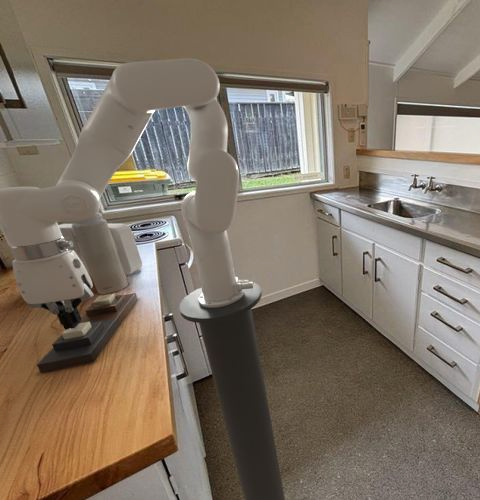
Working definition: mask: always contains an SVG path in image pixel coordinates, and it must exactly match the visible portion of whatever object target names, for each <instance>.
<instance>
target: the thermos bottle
mask: <svg viewBox="0 0 480 500" xmlns="http://www.w3.org/2000/svg"><path fill="white" fill-rule="evenodd" d="M71 224H72V228H73V231H74V233H75V236H76V238H77V241H78V244H79V246H80V249H81V251H82V254H83V256H84V259H85V261H86V264H87V266H88V269H89V272H90V274H91V275H90V278H91V280H92V283H93V285H94V287H95V289H96V292H97V293H98V294H102V295H103V294H104V295H107V294H113V293H115V292H119V291H121V290H124V289H125V288H126V287H128V285H129V283H128V280H127V277H126V275H125V274H124V271H123V268H122V265H121V263H120V260H119V257H118V253H117V251H116V248H115V245H114V242H113V239H112V236H111V233H110V230H109V227H108V224H109V223H108V221H107V220H106V219H103V215H102V213H100V212H98V213H97V214H96V215H95V216H94V217H92V218H90V219H87V220H84V221H75V222H73V223H71Z"/></svg>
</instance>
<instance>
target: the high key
mask: <svg viewBox="0 0 480 500" xmlns="http://www.w3.org/2000/svg"><path fill="white" fill-rule="evenodd" d="M91 328H92V326H91V324H90V322H85V323H79V324H78V325H77V326H76V327H75V328H73V329H71V328H70V329H67V330H65V329H64V331H63V332H62V333H61V335H63V338H64V340H65V339H70V338H76V337H81V336H85V335H86V334H87V333H88V331H89V330H90V329H91Z"/></svg>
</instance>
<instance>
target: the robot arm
mask: <svg viewBox="0 0 480 500" xmlns="http://www.w3.org/2000/svg"><path fill="white" fill-rule="evenodd" d="M220 88H221V84H220V79H219V77H218V74H217V73H216V72H215V70H214V68H212V66H210V65H209V64H208V63H206V62H205V61H204V60H200V59H198V58H193V57H192V58H191V57H183V58H182V57H181V58H172V59H158V60H142V61H131V62H124V63H122V64H120V65H118V66H117V67H116V68H115V69H114V70H113V72H112V74H111V77H110V78H109V81H108V82H107V84H106V86H105V88H104V90H103V91H102V94H101V95H100V97H99V99H98V100H97V102H96V104H95V105H94V107H93V110H92V111H91V112H90V114H89V116H88V117H87V120H86V122H85V123H84V125H83V126H82V128H81V131H80V133H79V136H78V140H77V145H76V147H75V149H74V152H73V154H72V156H71V157H70V159H69V161H68V163H67V165H66V166H65V169H64V170H63V172H62V174H61V176H60V178H59V179H58V181H57V182H56V184H55V185H54V186H48V187H42V188H41V187H37V186H26V185H25V186H12V187H2V188H0V231H1V232H2V235H3V237H4V239H5V241H6V243H7V246H8V247H9V249H10V252H11V254H12V256H13V258H14V259H13V260H12V261H11V262H12V272H13V276H14V279H15V282H16V285H17V289H18V290H19V294H20V295H21V297H22V300H24V302H25V303H26V304H28V307H29V308H30V309H43V310H47V311H49V312H50V313H51V314H52V315H55V316H57V318H58V320H59V324H60V325H62V327H63V329H64V331H65V330H67V329H70V328H71V329H73V328H75V327H76V326H77V325H78V324H79V323H80V322H81V319H82V316H81V312H80V310H79V308H78V307H79V306H80V304H82V303H84V302H87V301H89V300H92V299H93V298H94V296H95V294H94V292H93V291H92V290H91V289H92V288H93V287H94V283H93V280H92V278H91V275H89V274H88V272H87V270H86V268H85V267H84V265H83V263H82V261H81V260H80V258H79V257H78V256H77V254H76V253H75V252H74V250H68V248H69V247H73V242H72V241H65V238H64V237H63V236H62V233H61V231H60V228H59V226H58V225H59V223H66V222H67V223H69V222H71V223H74V222H75V221H84V220H87V219H90V218H92V217H94V216H95V215H96V214H97V213H99V211H100V209H101V201H100V200H101V198H102V196H103V194H104V192H105V191H106V189H107V187H108V185H109V183H110V181H111V179H113V176H114V175H115V173H116V172H117V171H118V169H119V168H120V167H121V165H123V164H124V163H125V162H126V161H127V160H128V159H129V158H130V157H131V155H132V153H133V152H134V150H135V148H136V146H137V144H138V142H139V141H140V139H141V137H142V135H143V133H144V131H145V129H146V128H147V126H148V124H149V122H150V120H151V119H152V117H153V115H154V113H155V111H160V110H169V109H177V108H183V109H184V111H185V112H186V114H187V116H188V119H189V122H190V139H189V149H188V158H187V172H188V175H189V176H190V178H191V179H192V180H193V181H194V182H195V190H194V191H191V192H189V193H188V194H186V196H185V197H184V198H182V199H183V200H182V201H181V205H180V211H181V216H182V220H183V224H184V226H185V229H186V232H187V235H188V237H189V242H190V246H191V250H192V254H193V259H194V263H195V267H196V271H197V276H198V279H199V284H200V288H202V292H203V293H202V294H201V295H200V296H199V297H198V301H199V304H200V305H201V306H203V307H207V308H217V307H223V306H227V305H230V304H232V303H234V302H236V301H238V300H239V299H240V298H241V297H242V296H243V295H244V289H251V288H253V282H254V281H252V282H249V281H250V280H249V279H244V280H245V281H238V280H239V277H238V276H236V272H235V267H234V262H233V256H232V251H231V245H230V239H229V235H228V231H227V230H228V229H229V228H230V227H231V226H232V224H233V222H234V220H235V217H236V212H237V211H236V209H237V202H238V193H239V186H240V170H239V167H238V163H237V161H236V159H235V158H234V157H233V156H232V155H231V154H230V153H229V152H228V139H229V138H228V137H229V127H228V126H229V125H228V120H227V117H226V114H225V111H224V110H223V108H222V106H221V104H220V103H219V101H218V99H217V98H218V96H219V93H220V90H221V89H220Z"/></svg>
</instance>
